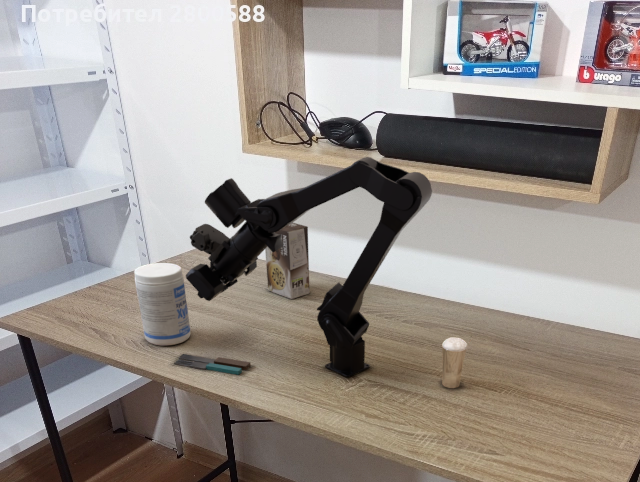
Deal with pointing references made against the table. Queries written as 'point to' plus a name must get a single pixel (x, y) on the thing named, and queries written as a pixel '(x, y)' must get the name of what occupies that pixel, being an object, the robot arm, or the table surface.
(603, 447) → the table surface
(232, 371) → the fork
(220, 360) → the knife
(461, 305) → the table surface
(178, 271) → the supplement tub
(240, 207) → the robot arm
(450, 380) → the milkshake
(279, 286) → the coffee box
